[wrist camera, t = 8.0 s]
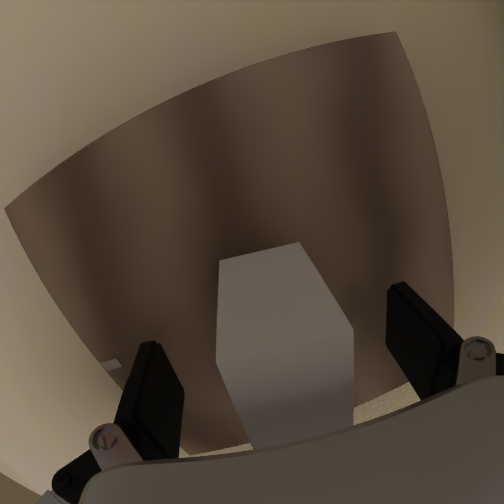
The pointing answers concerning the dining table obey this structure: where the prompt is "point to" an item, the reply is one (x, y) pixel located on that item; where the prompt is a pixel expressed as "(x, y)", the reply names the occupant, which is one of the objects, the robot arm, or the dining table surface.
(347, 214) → the dial board
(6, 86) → the dining table surface
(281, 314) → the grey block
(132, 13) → the dining table surface
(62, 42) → the dining table surface
